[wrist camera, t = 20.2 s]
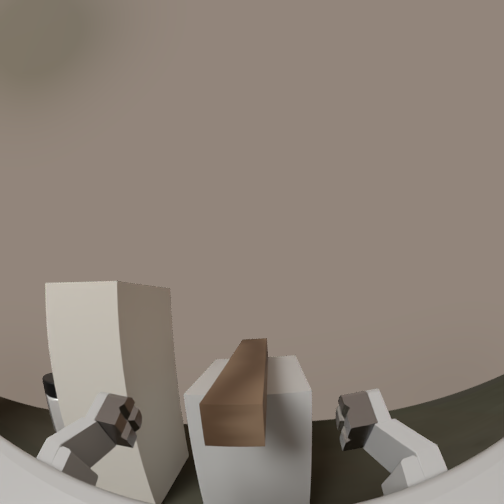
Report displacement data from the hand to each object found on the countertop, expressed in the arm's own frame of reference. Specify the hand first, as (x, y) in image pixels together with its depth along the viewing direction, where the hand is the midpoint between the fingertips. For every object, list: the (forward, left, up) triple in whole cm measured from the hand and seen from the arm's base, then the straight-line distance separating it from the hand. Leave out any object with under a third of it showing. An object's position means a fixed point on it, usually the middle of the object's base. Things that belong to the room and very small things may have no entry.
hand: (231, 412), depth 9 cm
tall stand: (-17, +19, -20) cm, 32 cm away
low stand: (-1, +18, -20) cm, 26 cm away
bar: (-1, +13, -3) cm, 14 cm away
